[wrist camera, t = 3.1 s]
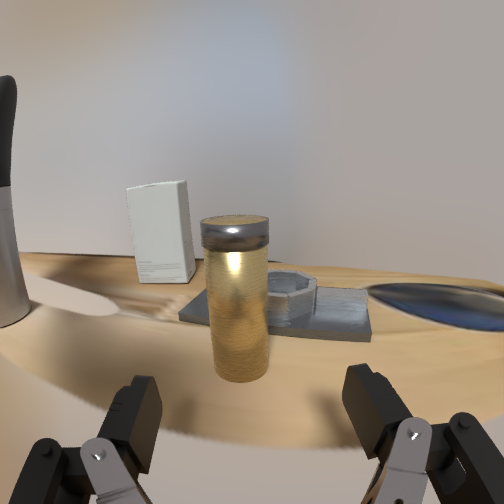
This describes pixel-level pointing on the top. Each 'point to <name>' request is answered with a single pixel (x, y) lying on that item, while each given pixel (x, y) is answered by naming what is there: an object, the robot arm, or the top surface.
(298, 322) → the socket base
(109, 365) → the top surface
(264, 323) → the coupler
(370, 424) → the robot arm
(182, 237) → the skincare box
